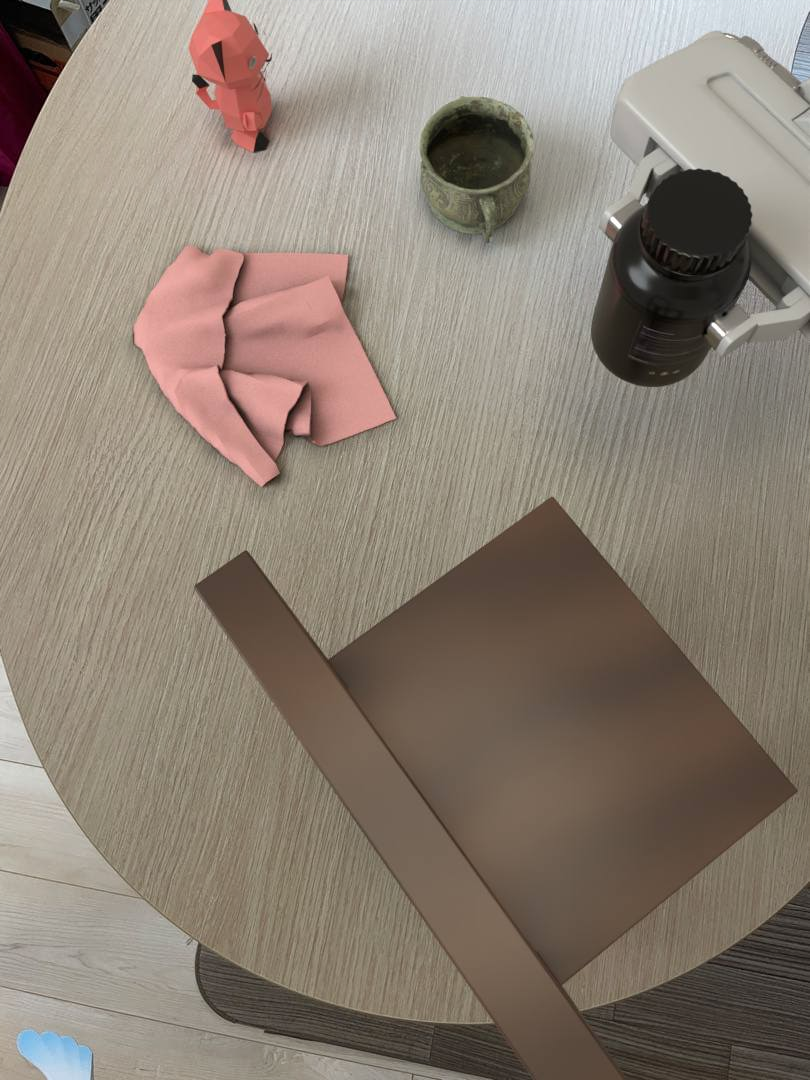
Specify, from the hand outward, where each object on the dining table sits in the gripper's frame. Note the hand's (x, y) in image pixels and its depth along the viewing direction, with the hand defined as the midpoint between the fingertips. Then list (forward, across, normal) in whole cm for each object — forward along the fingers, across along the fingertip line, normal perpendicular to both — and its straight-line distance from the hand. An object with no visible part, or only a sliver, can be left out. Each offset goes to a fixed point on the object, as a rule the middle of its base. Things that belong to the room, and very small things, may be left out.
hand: (661, 286), depth 48 cm
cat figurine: (+4, -40, +23) cm, 47 cm away
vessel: (-7, -23, +23) cm, 34 cm away
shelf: (+19, +14, +24) cm, 33 cm away
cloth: (+15, -21, +23) cm, 35 cm away
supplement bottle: (-1, 0, +7) cm, 7 cm away
